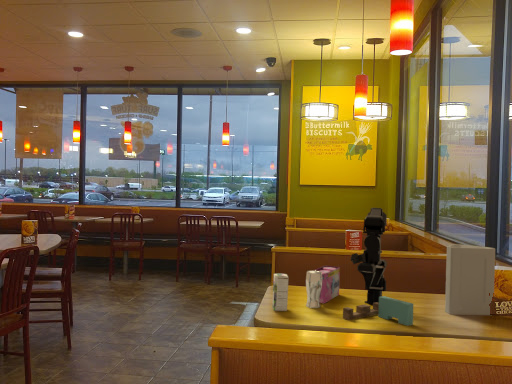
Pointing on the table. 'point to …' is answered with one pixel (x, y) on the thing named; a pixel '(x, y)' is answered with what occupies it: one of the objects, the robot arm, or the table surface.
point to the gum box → (329, 282)
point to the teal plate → (396, 310)
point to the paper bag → (469, 279)
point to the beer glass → (313, 288)
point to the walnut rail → (360, 311)
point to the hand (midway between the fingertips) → (371, 286)
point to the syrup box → (280, 292)
